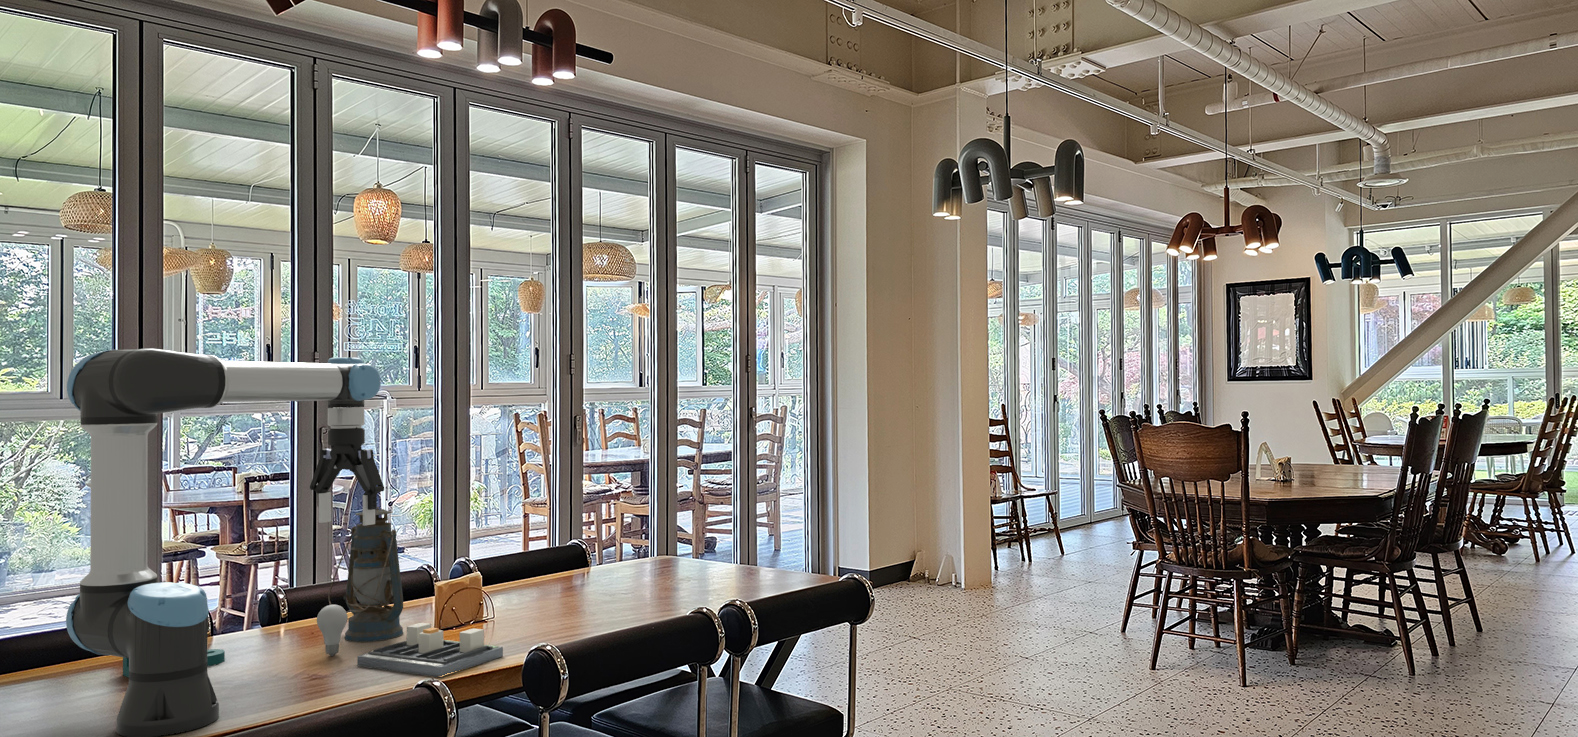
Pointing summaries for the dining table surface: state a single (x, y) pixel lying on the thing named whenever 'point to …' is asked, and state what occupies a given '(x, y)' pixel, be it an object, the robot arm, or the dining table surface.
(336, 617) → the lightbulb
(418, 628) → the block
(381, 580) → the lantern
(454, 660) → the panel
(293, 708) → the dining table surface
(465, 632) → the block
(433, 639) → the block
